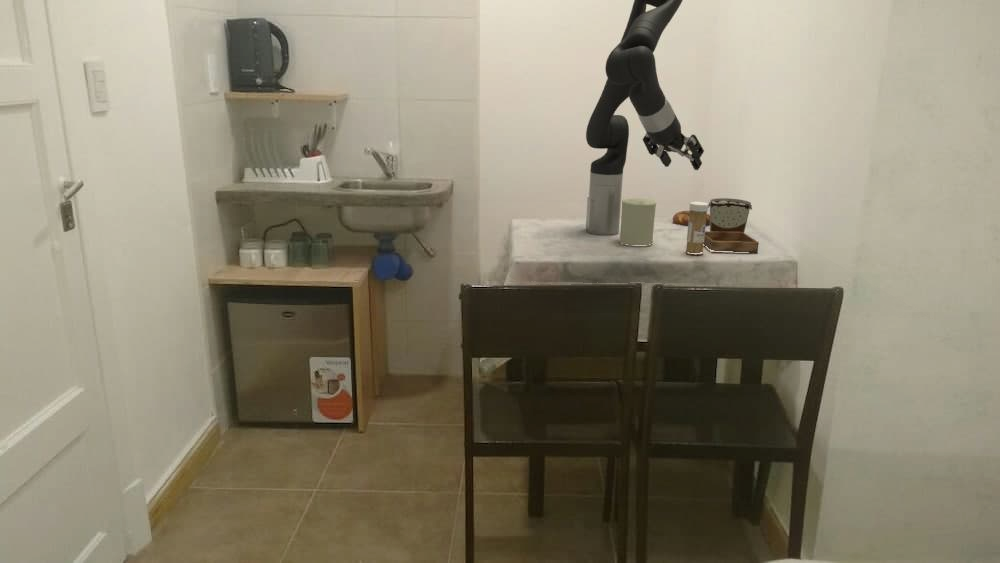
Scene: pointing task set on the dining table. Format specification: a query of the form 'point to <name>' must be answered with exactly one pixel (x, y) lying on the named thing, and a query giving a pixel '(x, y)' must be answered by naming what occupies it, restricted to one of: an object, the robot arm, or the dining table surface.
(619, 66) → the robot arm
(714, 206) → the food container
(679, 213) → the pretzel
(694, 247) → the sprinkles bottle
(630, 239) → the can
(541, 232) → the dining table surface
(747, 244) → the box
